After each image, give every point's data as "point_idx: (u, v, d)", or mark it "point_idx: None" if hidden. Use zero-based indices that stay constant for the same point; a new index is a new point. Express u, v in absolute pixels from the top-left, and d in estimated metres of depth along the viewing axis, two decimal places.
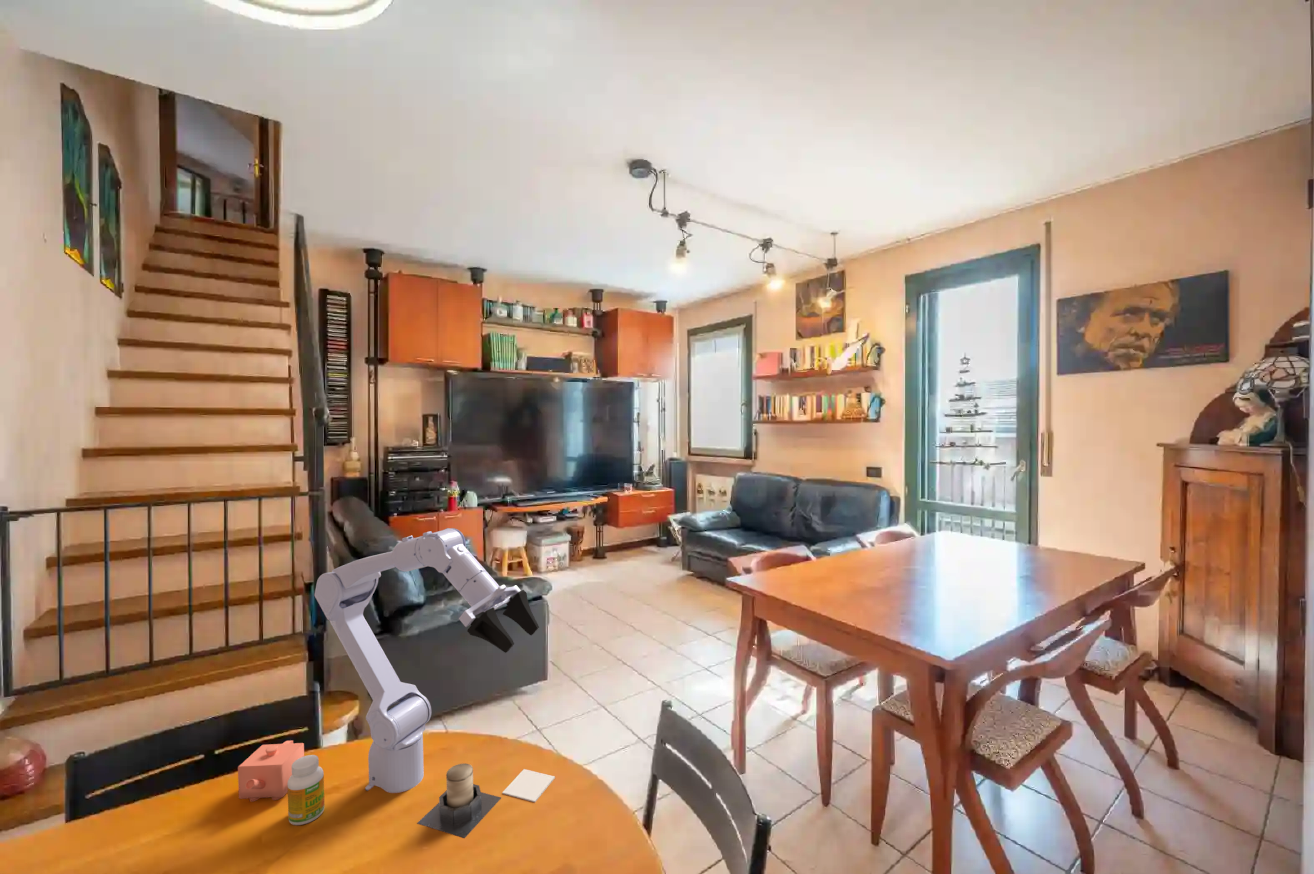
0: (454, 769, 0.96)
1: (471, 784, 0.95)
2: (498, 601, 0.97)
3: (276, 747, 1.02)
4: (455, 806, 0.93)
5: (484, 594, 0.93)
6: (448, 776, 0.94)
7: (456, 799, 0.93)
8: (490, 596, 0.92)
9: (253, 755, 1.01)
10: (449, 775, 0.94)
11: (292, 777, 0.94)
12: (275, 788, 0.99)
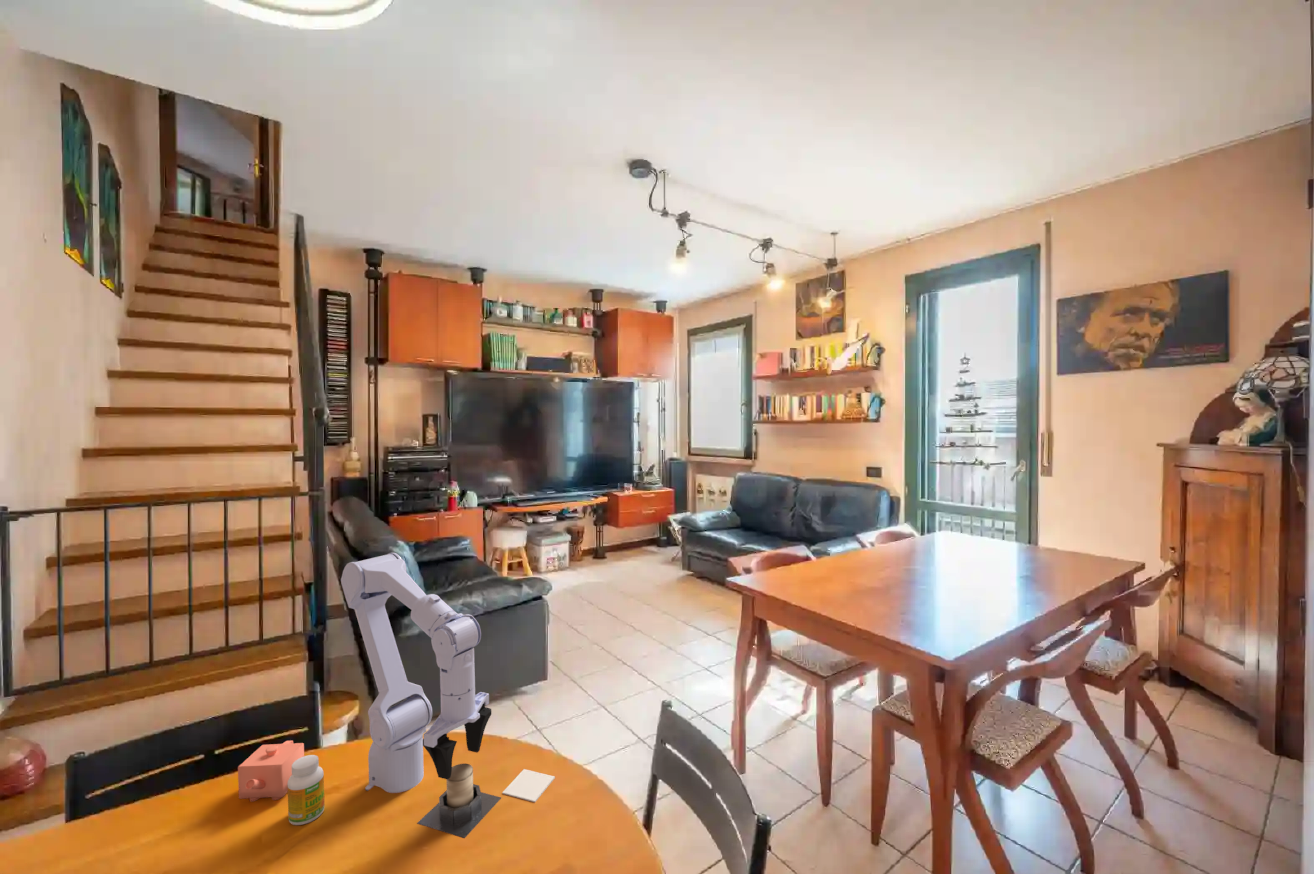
0: (454, 769, 0.96)
1: (471, 784, 0.95)
2: None
3: (276, 747, 1.02)
4: (455, 806, 0.93)
5: (458, 716, 0.92)
6: None
7: (456, 799, 0.93)
8: (461, 723, 0.92)
9: (253, 755, 1.01)
10: None
11: (292, 777, 0.94)
12: (275, 788, 0.99)
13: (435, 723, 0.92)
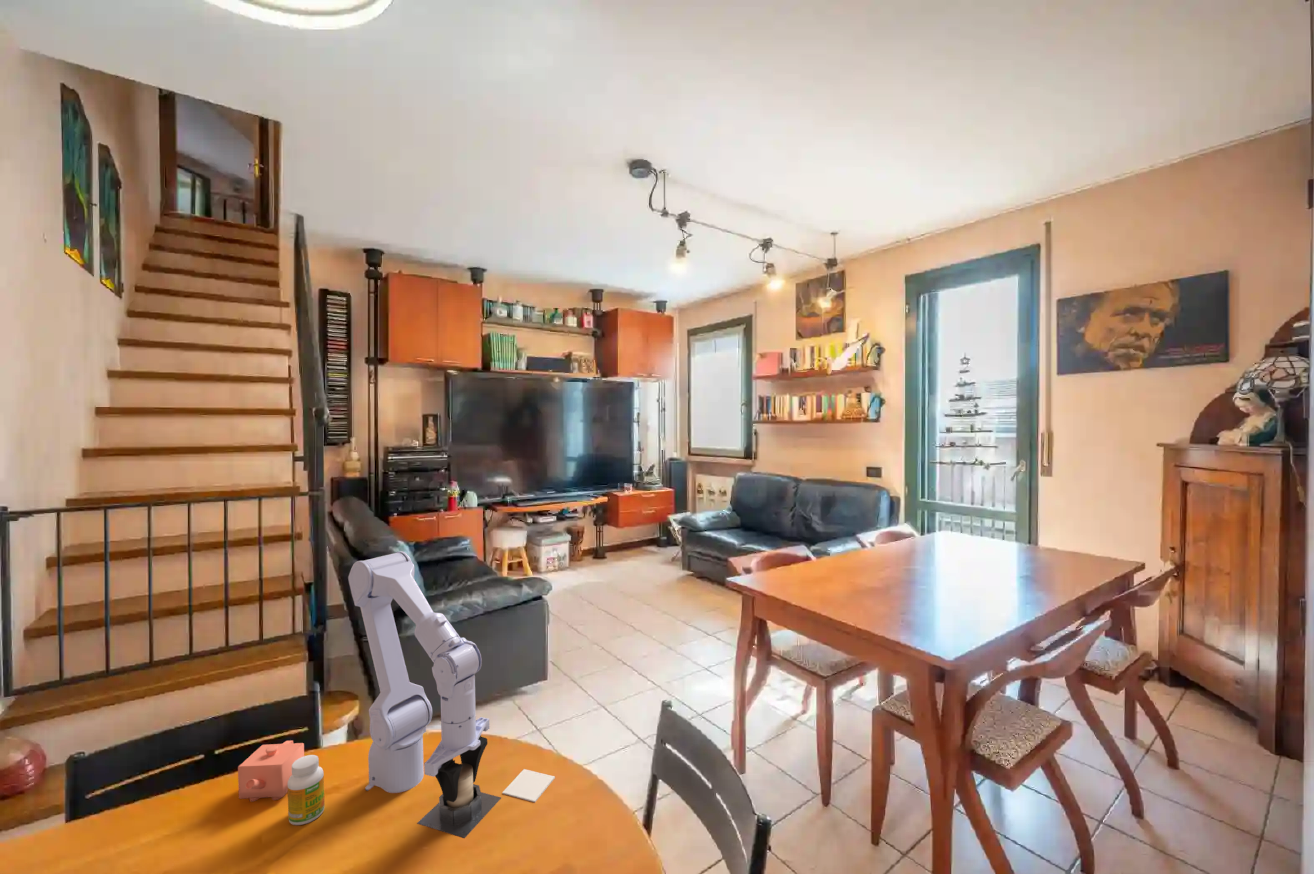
0: None
1: (471, 784, 0.95)
2: None
3: (276, 747, 1.02)
4: (455, 806, 0.93)
5: (458, 744, 0.92)
6: None
7: (456, 799, 0.93)
8: (462, 751, 0.92)
9: (253, 755, 1.01)
10: None
11: (292, 777, 0.94)
12: (275, 788, 0.99)
13: (436, 751, 0.92)
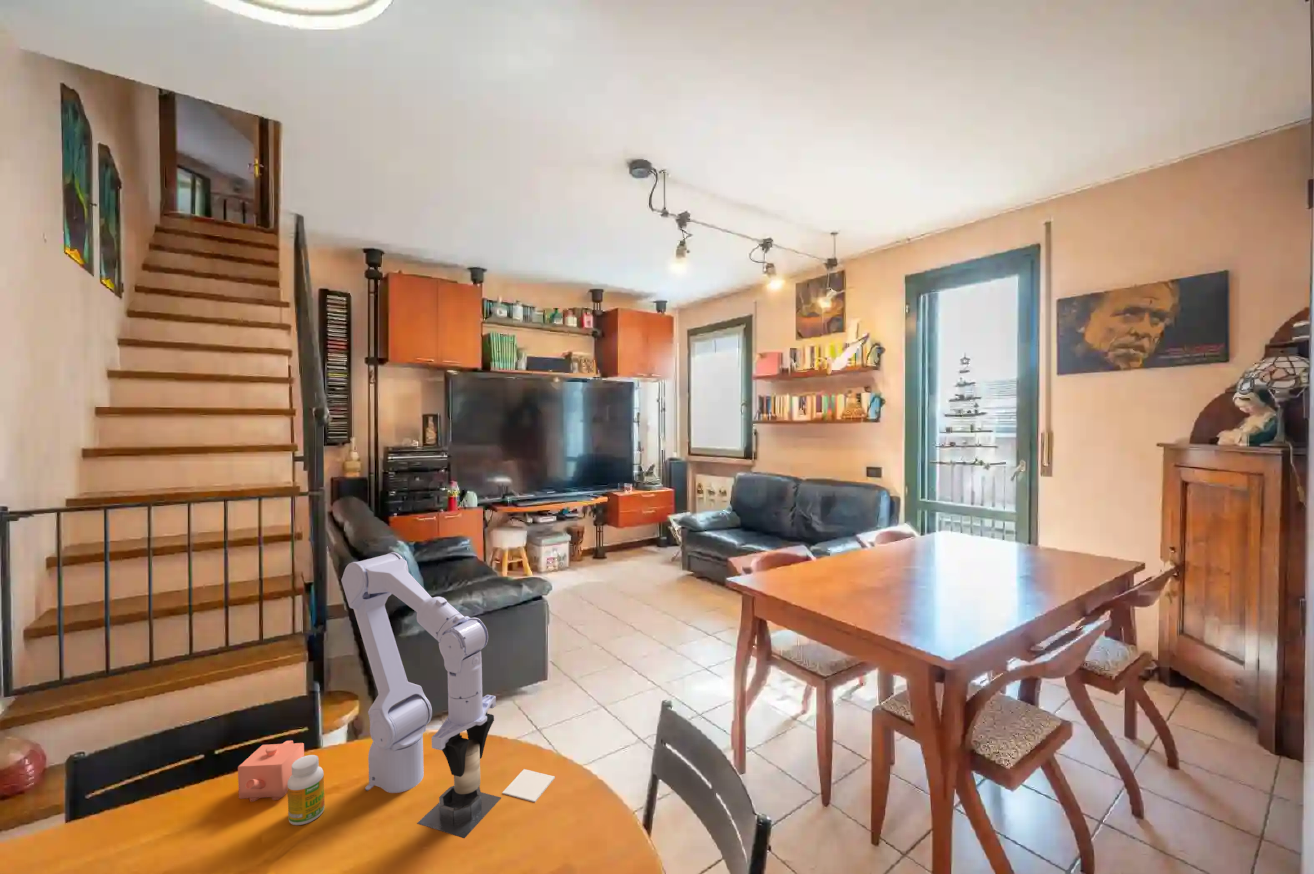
0: None
1: (478, 760, 0.95)
2: None
3: (276, 747, 1.02)
4: (462, 781, 0.93)
5: (465, 719, 0.92)
6: None
7: (463, 774, 0.93)
8: (469, 726, 0.92)
9: (253, 755, 1.01)
10: None
11: (292, 777, 0.94)
12: (275, 788, 0.99)
13: (443, 726, 0.92)
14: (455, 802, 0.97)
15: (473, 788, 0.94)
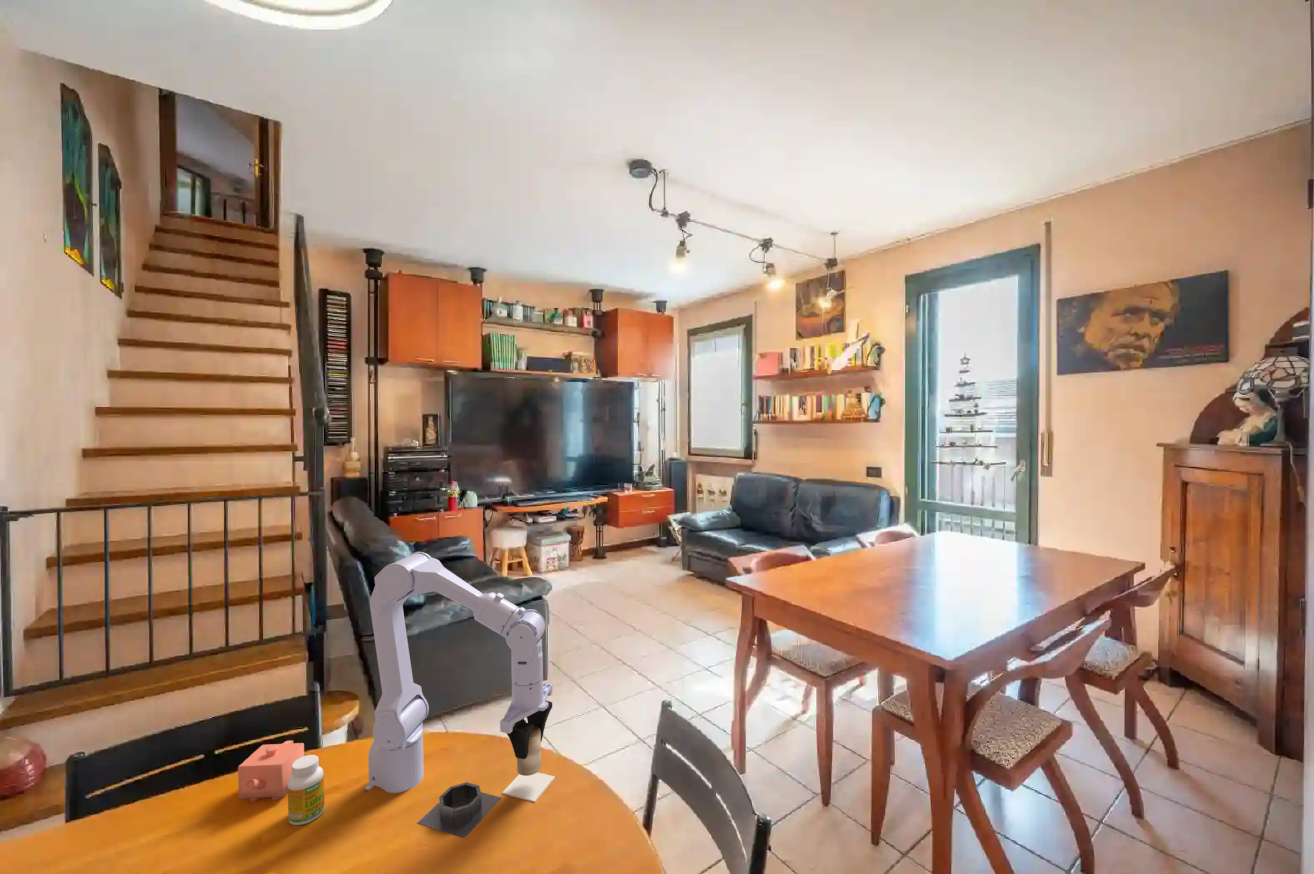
0: None
1: (539, 743, 1.01)
2: None
3: (276, 747, 1.02)
4: (526, 763, 0.99)
5: (529, 705, 0.98)
6: None
7: None
8: (532, 711, 0.98)
9: (253, 755, 1.01)
10: None
11: (292, 777, 0.94)
12: (275, 788, 0.99)
13: (508, 711, 0.98)
14: (455, 802, 0.97)
15: (536, 770, 1.00)
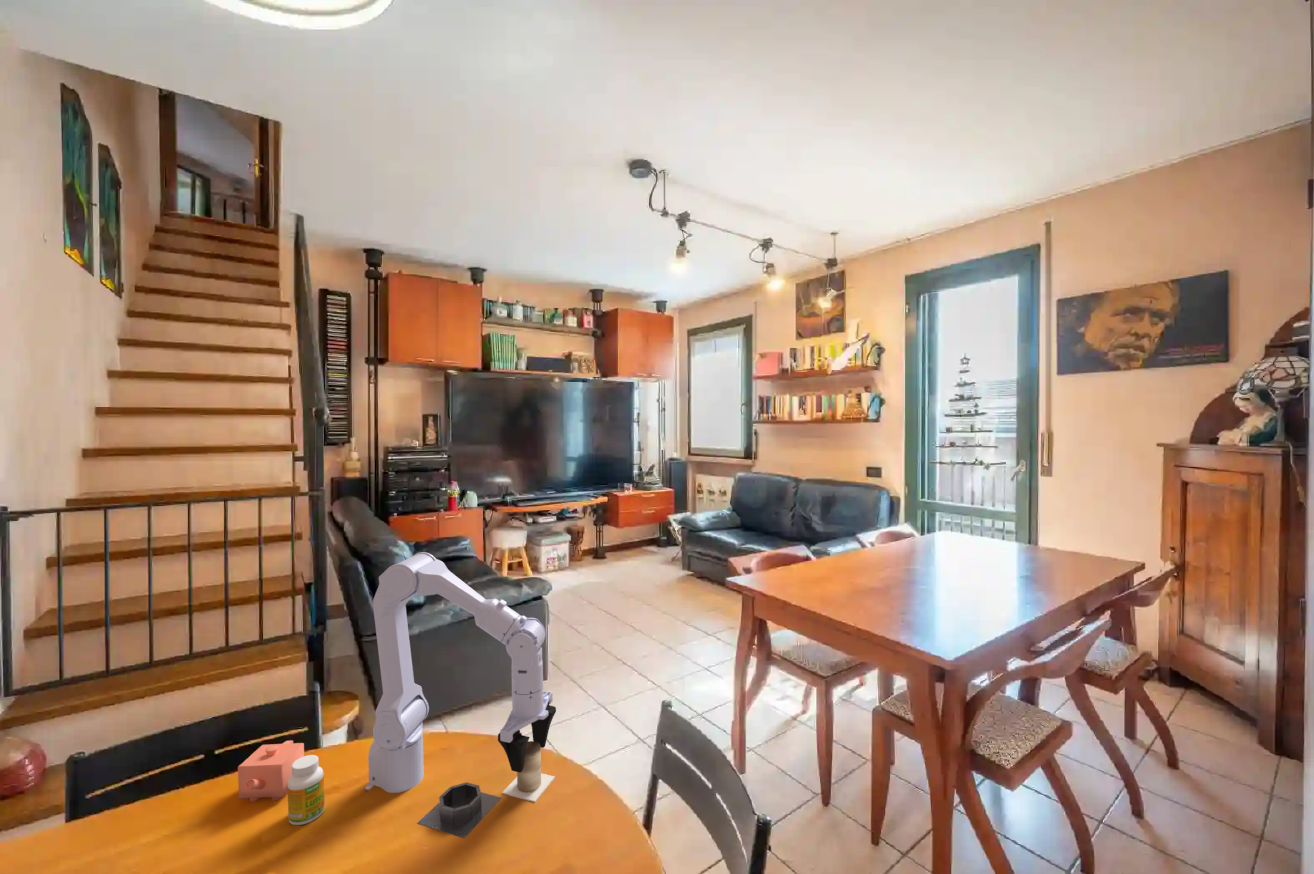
0: None
1: (539, 760, 1.01)
2: None
3: (276, 747, 1.02)
4: (526, 780, 0.99)
5: (529, 713, 0.98)
6: None
7: (526, 773, 0.99)
8: (532, 720, 0.98)
9: (253, 755, 1.01)
10: None
11: (292, 777, 0.94)
12: (275, 788, 0.99)
13: (508, 720, 0.98)
14: (455, 802, 0.97)
15: (536, 787, 1.00)
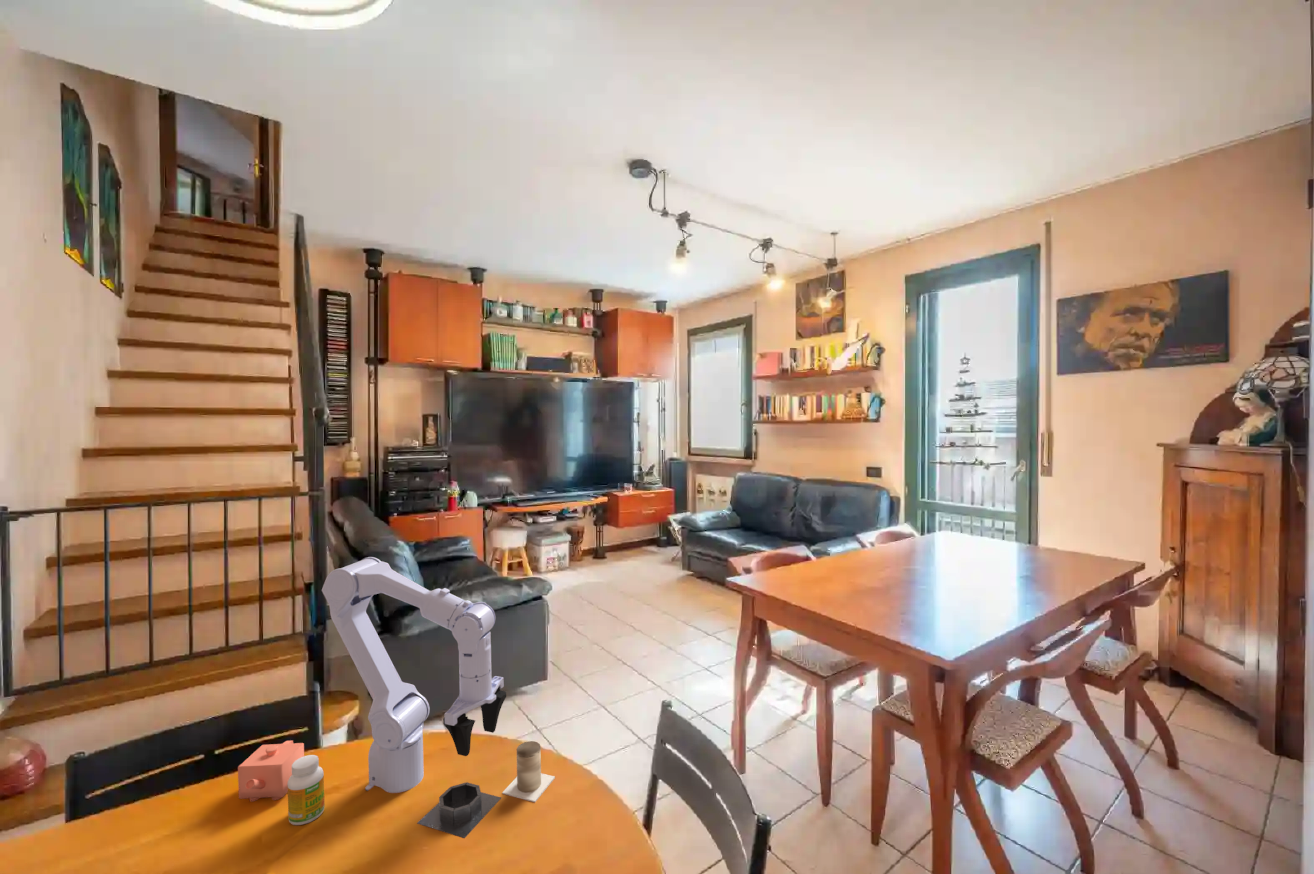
0: (523, 746, 1.02)
1: (539, 760, 1.01)
2: None
3: (276, 747, 1.02)
4: (526, 780, 0.99)
5: (476, 697, 0.98)
6: (518, 752, 1.00)
7: (526, 773, 0.99)
8: (479, 703, 0.98)
9: (253, 755, 1.01)
10: (520, 751, 1.00)
11: (292, 777, 0.94)
12: (275, 788, 0.99)
13: (454, 704, 0.97)
14: (455, 802, 0.97)
15: (536, 787, 1.00)
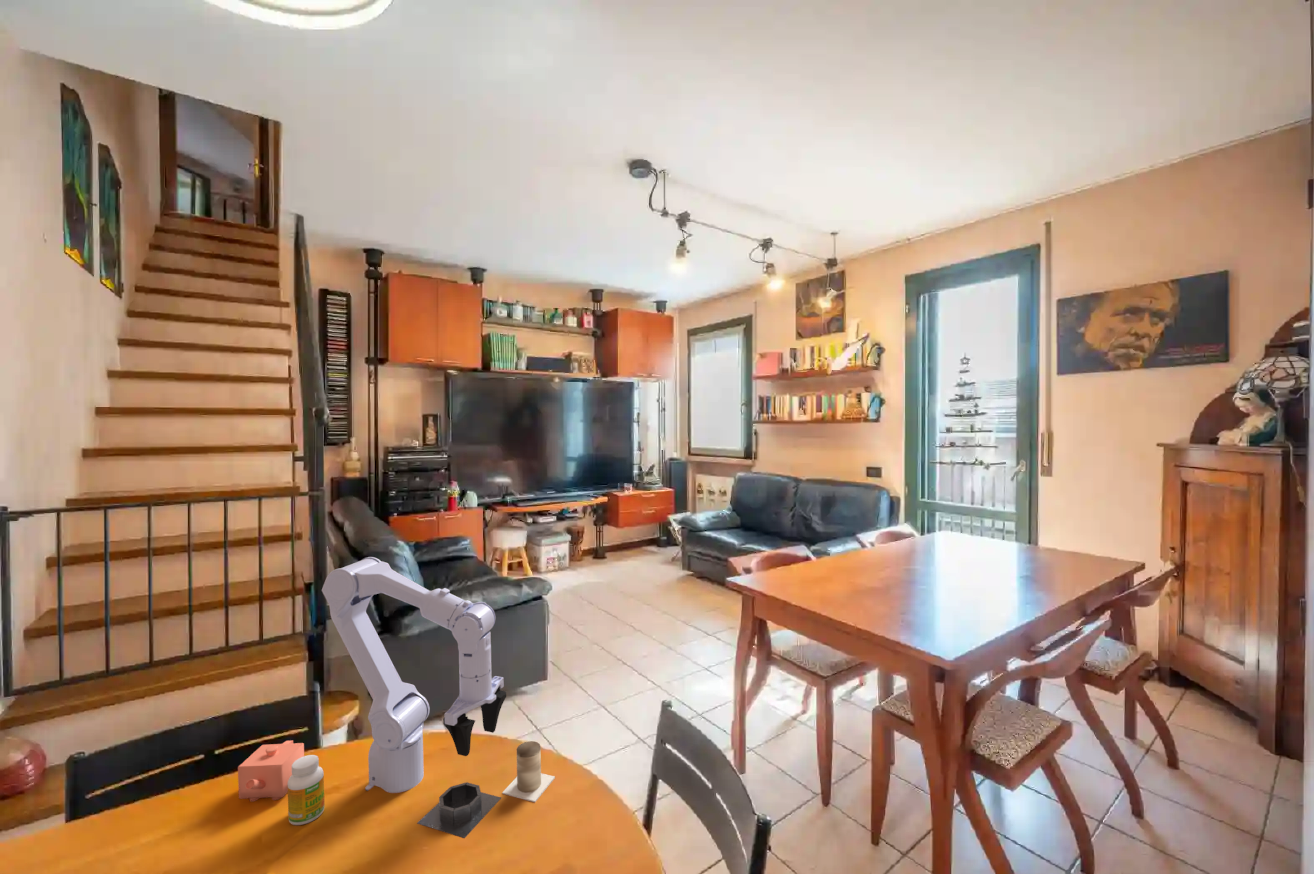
0: (523, 746, 1.02)
1: (539, 760, 1.01)
2: None
3: (276, 747, 1.02)
4: (526, 780, 0.99)
5: (476, 697, 0.98)
6: (518, 752, 1.00)
7: (526, 773, 0.99)
8: (479, 703, 0.98)
9: (253, 755, 1.01)
10: (520, 751, 1.00)
11: (292, 777, 0.94)
12: (275, 788, 0.99)
13: (454, 704, 0.97)
14: (455, 802, 0.97)
15: (536, 787, 1.00)
